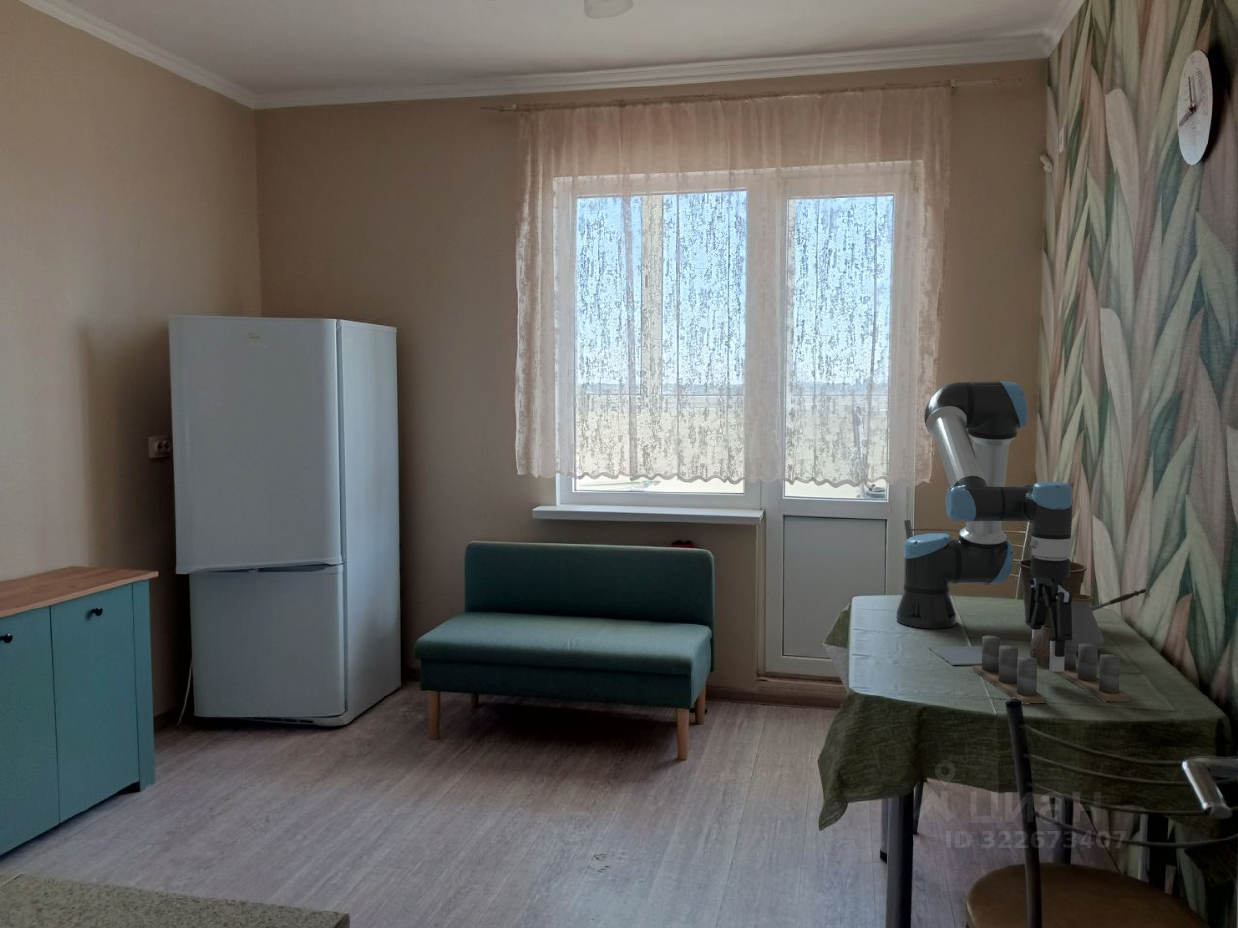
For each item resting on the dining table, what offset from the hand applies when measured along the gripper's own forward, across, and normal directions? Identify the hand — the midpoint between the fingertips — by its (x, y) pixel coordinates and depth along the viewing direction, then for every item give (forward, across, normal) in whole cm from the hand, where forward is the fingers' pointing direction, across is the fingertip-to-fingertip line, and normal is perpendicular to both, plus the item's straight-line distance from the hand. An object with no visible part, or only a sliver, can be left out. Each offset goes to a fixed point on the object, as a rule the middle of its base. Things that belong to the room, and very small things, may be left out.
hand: (1047, 664), depth 194 cm
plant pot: (+5, -48, +26) cm, 54 cm away
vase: (+1, 0, 0) cm, 1 cm away
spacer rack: (+4, 0, 0) cm, 4 cm away
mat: (+5, -22, -7) cm, 23 cm away
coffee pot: (+5, -24, +25) cm, 35 cm away
